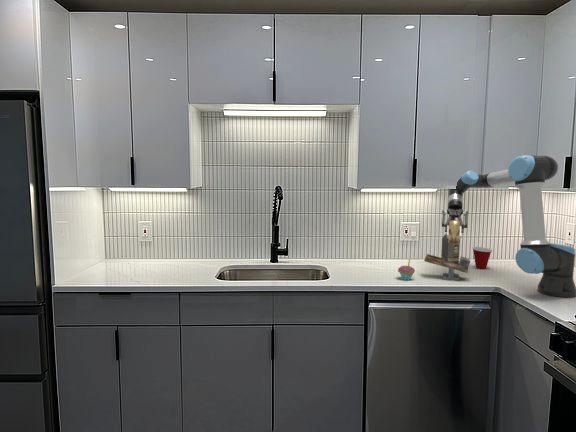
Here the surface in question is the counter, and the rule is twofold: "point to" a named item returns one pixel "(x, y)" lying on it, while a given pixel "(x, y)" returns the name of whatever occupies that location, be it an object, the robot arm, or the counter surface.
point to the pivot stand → (451, 274)
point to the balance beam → (449, 263)
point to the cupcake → (406, 271)
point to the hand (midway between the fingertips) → (453, 236)
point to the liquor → (450, 250)
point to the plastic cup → (481, 256)
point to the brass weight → (454, 231)
